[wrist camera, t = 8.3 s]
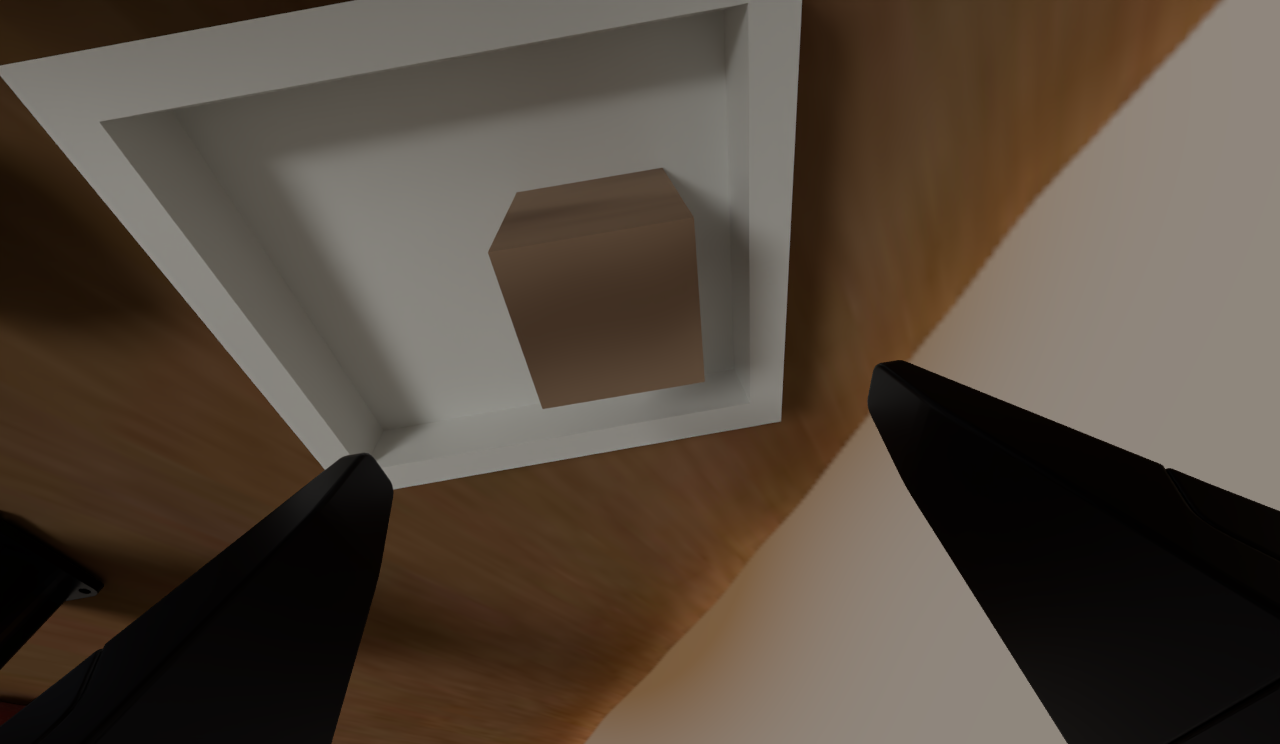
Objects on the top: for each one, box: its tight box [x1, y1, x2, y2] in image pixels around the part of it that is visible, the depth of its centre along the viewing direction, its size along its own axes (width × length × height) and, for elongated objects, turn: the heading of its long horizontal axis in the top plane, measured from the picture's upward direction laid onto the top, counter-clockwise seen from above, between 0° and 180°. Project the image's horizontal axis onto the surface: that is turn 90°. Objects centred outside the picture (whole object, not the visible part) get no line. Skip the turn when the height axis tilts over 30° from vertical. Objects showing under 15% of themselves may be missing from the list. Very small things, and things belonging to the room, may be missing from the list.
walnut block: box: [488, 168, 705, 409], centre depth 13 cm, size 4×4×5 cm
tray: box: [0, 0, 802, 489], centre depth 15 cm, size 14×17×3 cm
